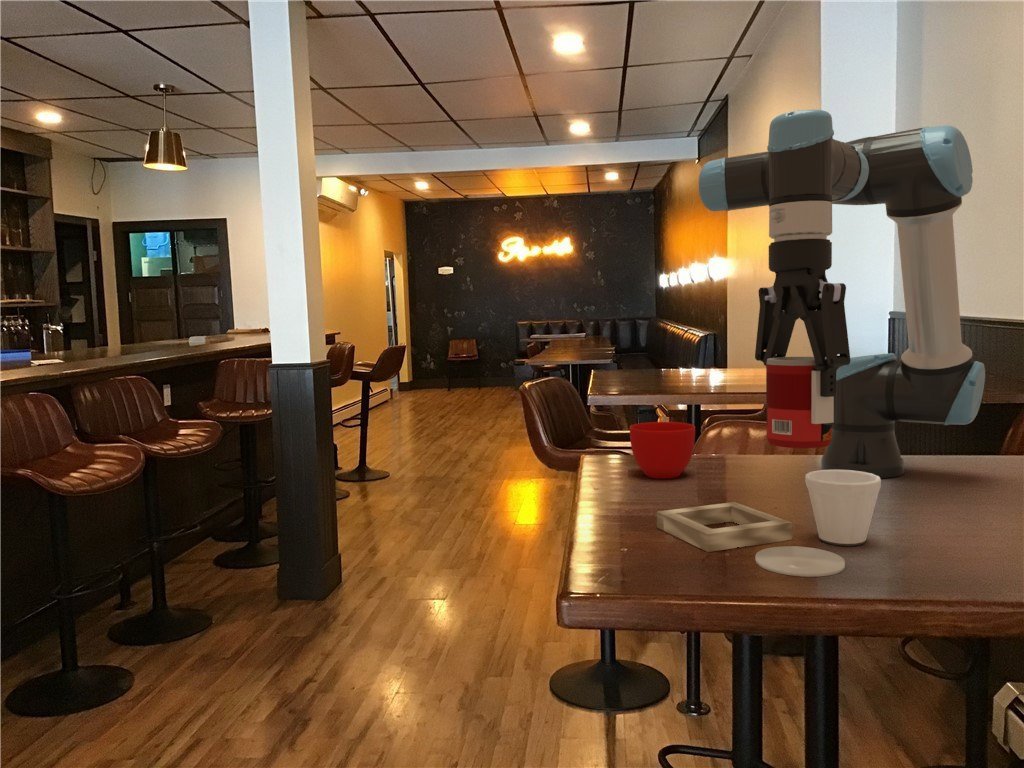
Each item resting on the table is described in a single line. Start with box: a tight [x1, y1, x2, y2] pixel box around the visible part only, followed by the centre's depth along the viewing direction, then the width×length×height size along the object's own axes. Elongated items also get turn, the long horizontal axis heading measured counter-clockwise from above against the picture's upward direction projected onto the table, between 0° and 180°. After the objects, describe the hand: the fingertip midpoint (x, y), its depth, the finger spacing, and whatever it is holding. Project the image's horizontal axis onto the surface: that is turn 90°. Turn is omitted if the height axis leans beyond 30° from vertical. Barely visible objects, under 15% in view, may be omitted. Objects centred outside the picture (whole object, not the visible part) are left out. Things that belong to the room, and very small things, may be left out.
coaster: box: [754, 545, 846, 578], centre depth 105 cm, size 11×11×1 cm
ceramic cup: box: [629, 421, 696, 480], centre depth 164 cm, size 13×17×10 cm
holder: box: [656, 501, 793, 553], centre depth 120 cm, size 14×14×2 cm
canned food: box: [765, 356, 832, 449], centre depth 103 cm, size 8×8×11 cm
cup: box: [804, 469, 882, 547], centre depth 114 cm, size 10×10×9 cm
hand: (799, 418), depth 104 cm, fingers closed on canned food, 8 cm apart
